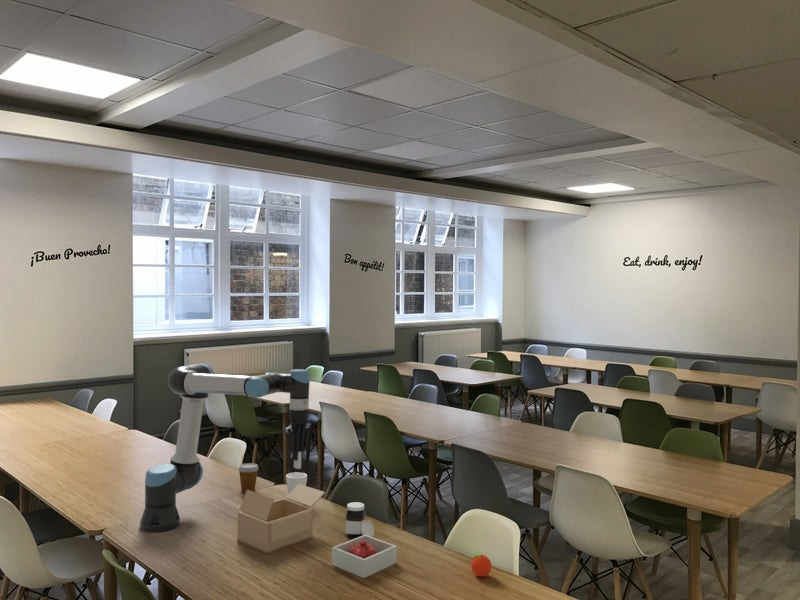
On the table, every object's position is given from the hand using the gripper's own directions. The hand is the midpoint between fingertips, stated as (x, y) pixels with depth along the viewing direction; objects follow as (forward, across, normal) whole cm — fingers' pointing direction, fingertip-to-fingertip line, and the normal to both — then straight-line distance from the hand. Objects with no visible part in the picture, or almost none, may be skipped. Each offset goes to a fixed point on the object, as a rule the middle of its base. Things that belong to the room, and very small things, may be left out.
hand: (297, 467), depth 248 cm
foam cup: (+26, +23, +26) cm, 43 cm away
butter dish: (+26, -4, -40) cm, 48 cm away
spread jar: (+26, +15, -21) cm, 36 cm away
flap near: (+11, -19, +1) cm, 21 cm away
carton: (+26, -10, +1) cm, 27 cm away
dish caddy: (+25, -4, -40) cm, 48 cm away
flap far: (+12, +5, 0) cm, 13 cm away
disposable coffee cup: (+27, +21, +58) cm, 67 cm away
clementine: (+25, +15, -76) cm, 81 cm away
